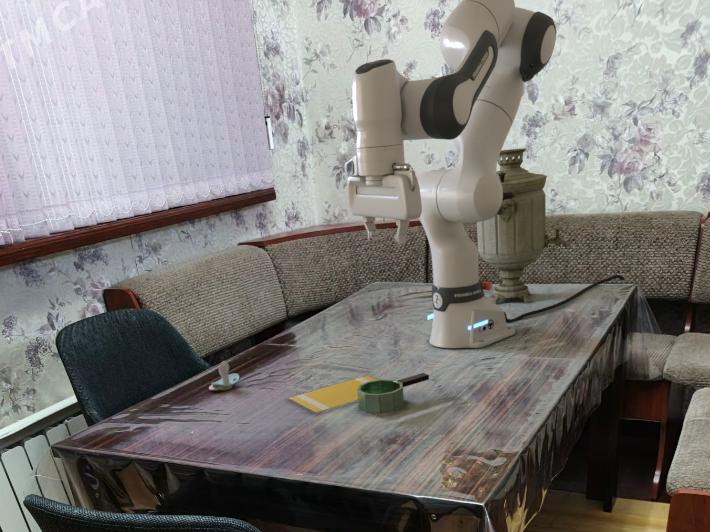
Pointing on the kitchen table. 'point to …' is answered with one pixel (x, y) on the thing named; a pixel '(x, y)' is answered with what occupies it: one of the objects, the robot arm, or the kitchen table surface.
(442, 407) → the kitchen table surface
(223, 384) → the pacifier
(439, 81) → the robot arm
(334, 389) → the towel
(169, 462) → the kitchen table surface
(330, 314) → the kitchen table surface
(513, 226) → the samovar
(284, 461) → the kitchen table surface
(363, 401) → the green saucepan
